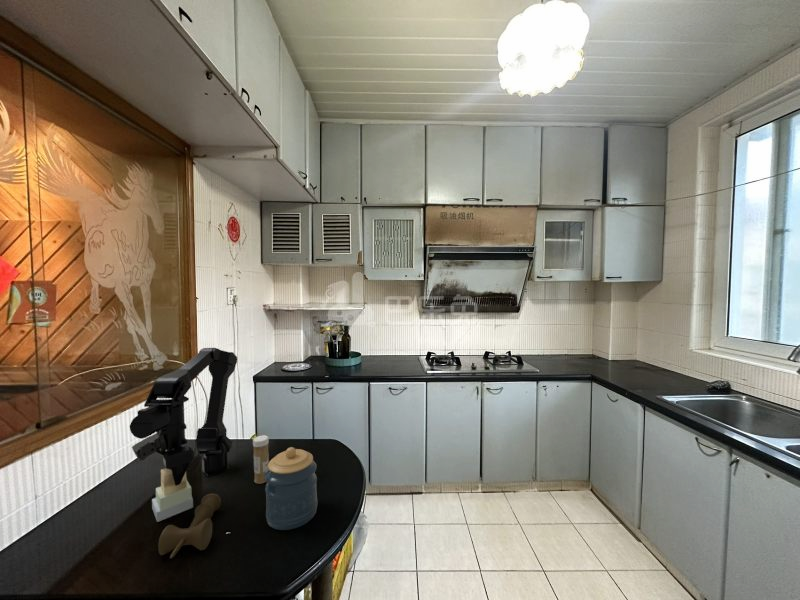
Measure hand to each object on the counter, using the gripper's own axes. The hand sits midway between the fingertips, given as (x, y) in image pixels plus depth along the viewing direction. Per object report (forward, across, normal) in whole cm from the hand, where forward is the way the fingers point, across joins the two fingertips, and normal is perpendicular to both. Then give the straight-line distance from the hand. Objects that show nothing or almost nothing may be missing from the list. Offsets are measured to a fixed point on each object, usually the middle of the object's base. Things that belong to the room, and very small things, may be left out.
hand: (173, 478), depth 89 cm
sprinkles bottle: (+8, +5, +22) cm, 24 cm away
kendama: (+8, +17, +1) cm, 19 cm away
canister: (+8, +27, +21) cm, 35 cm away
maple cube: (+2, 0, 0) cm, 3 cm away
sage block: (+6, 0, 0) cm, 6 cm away
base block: (+8, 0, 0) cm, 9 cm away
